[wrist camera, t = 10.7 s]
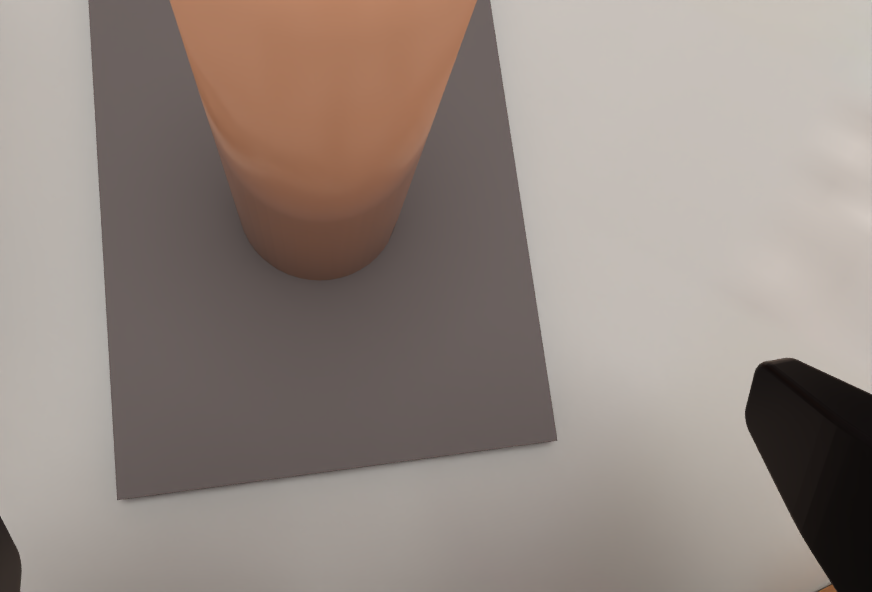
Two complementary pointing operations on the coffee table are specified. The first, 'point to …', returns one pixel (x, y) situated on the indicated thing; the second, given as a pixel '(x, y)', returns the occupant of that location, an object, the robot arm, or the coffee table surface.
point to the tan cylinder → (320, 116)
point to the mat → (304, 290)
